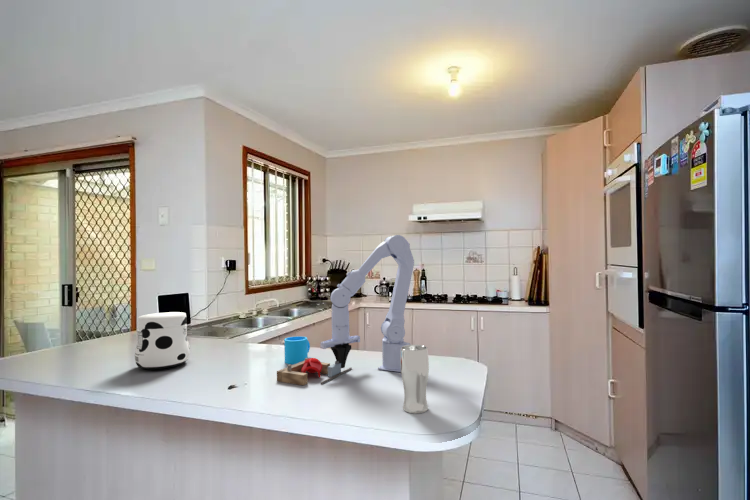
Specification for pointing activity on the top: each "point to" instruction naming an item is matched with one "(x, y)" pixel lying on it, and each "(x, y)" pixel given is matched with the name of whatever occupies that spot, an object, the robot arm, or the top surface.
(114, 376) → the top surface
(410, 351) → the beer glass
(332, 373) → the pale blue-grey box
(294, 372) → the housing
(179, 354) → the milk container
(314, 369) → the cap
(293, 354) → the mug
